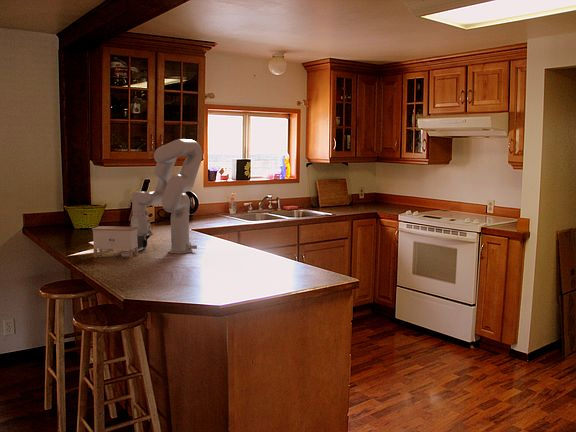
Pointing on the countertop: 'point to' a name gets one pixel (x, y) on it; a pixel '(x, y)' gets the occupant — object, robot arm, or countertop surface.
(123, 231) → the cabinet
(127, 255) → the round metal knob
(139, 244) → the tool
